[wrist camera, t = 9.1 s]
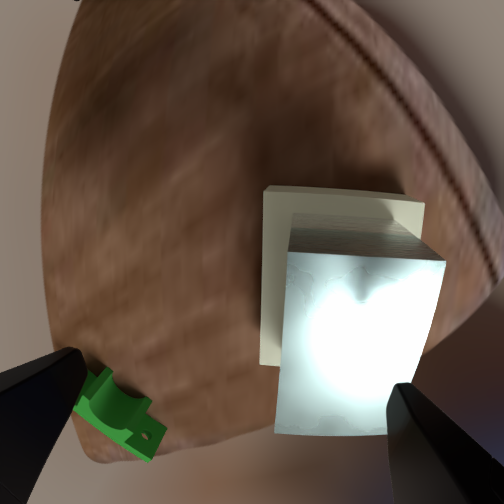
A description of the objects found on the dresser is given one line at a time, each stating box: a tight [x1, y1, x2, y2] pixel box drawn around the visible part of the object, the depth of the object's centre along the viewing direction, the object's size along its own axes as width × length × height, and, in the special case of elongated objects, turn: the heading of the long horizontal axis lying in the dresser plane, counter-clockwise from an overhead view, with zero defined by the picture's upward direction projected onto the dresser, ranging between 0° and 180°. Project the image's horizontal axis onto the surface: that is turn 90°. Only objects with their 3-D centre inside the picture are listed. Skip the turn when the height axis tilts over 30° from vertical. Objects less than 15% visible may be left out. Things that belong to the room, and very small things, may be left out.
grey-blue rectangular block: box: [274, 213, 446, 436], centre depth 12 cm, size 5×8×6 cm, turn 179°
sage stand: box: [260, 185, 425, 366], centre depth 17 cm, size 10×8×3 cm
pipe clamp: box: [73, 367, 167, 463], centre depth 23 cm, size 11×4×5 cm, turn 52°
